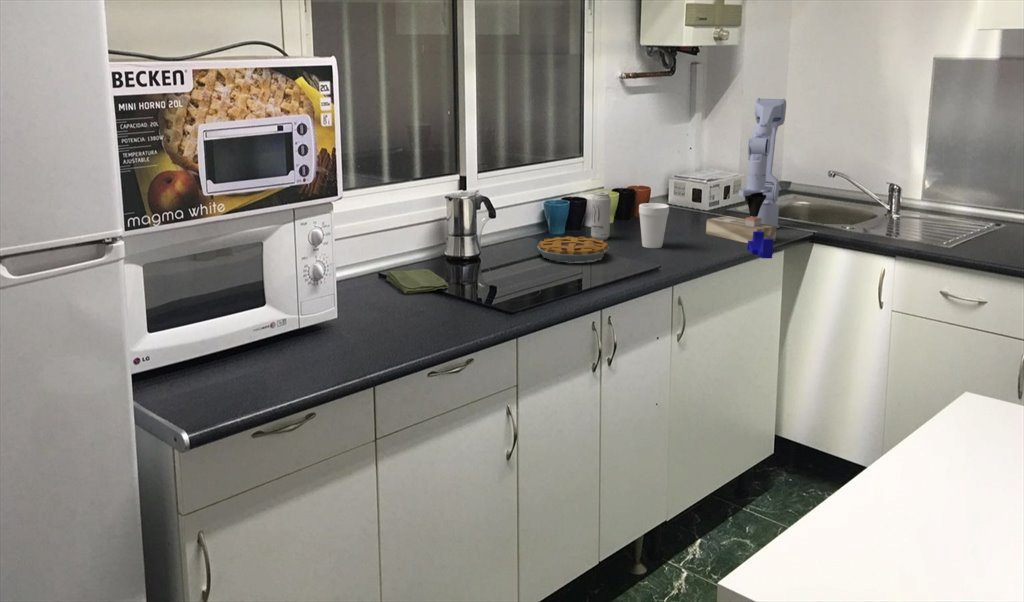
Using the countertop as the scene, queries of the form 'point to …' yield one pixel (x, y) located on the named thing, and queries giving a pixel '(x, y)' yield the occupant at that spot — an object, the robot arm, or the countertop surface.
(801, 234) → the countertop surface
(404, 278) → the washcloth
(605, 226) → the energy drink can
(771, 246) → the blue angular block
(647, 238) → the foam cup
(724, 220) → the matte grey cube
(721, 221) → the button block
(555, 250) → the pie
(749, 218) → the orange block
